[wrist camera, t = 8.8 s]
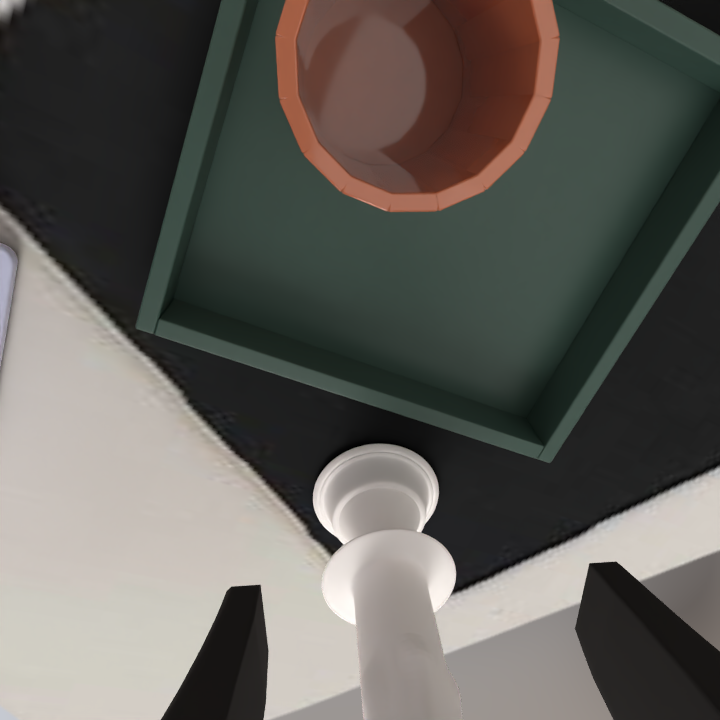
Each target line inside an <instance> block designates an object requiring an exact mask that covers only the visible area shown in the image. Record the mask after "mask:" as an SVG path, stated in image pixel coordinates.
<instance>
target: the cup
mask: <svg viewBox="0 0 720 720" xmlns="http://www.w3.org/2000/svg"><path fill="white" fill-rule="evenodd" d="M559 41H560V38H559V29H558V25H557V20H556V15H555V11H554V6H553V2H552V0H285V3H284V6H283V10H282V13H281V16H280V19H279V23H278V26H277V29H276V36H275V48H276V65H277V82H278V97H279V99H280V104H281V106H282V109H283V111H284V113H285V115H286V118H287V120H288V122H289V125H290V127H291V129H292V132H293V134H294V136H295V138H296V141H297V143H298V145H299V148H300V150H301V152H302V153H304V156H305V157H306V158H307V159H308V160H309V161H310V162H311V163H312V164H313V165H314V166H315V167H316V168H317V169H318V170H319V171H320V172H321V173H322V174H323V175H324V176H325V177H326V178H327V179H328V180H329V181H330V182H331V184H332V185H333V186H334V187H335V188H336V189H337V190H338V191H340V192H342V193H343V194H345V195H347V196H350V197H352V198H354V199H357V200H359V201H362V202H364V203H367V204H369V205H371V206H374V207H376V208H379V209H381V210H383V211H386V212H387V211H389V212H436V211H441V210H443V209H445V208H448V207H450V206H452V205H455V204H457V203H459V202H462V201H464V200H466V199H469V198H471V197H473V196H475V195H478V194H480V193H482V192H484V191H485V190H487V189H488V188H489V187H490V186H492V185H493V184H494V183H495V182H496V181H497V180H498V179H499V178H500V177H501V176H502V175H503V174H504V173H505V172H506V171H507V170H508V169H509V168H510V167H511V166H512V165H513V164H514V163H515V162H516V161H517V160H518V159H519V158H520V157H521V156H522V155H523V154H524V153H525V152H524V151H526V150H527V148H528V146H529V144H530V142H531V140H532V138H533V136H534V134H535V132H536V130H537V128H538V126H539V124H540V122H541V120H542V118H543V116H544V114H545V112H546V110H547V108H548V106H549V104H550V102H551V98H552V95H553V87H554V79H555V72H556V64H557V57H558V49H559Z"/></svg>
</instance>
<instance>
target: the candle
mask: <svg viewBox="0 0 720 720" xmlns="http://www.w3.org/2000/svg"><path fill="white" fill-rule="evenodd" d="M438 496H439V486H438V481H437V478H436V475H435V473H434V471H433V469H432V468H431V466H430V465H429V464H428V463H427V462H426V461H425V460H424V459H423V458H422V457H421V456H420V455H418V454H417V453H415V452H413V451H411V450H409V449H407V448H404V447H401V446H398V445H393V444H383V443H377V444H367V445H362V446H359V447H355V448H353V449H350V450H348V451H346V452H344V453H342V454H340V455H339V456H337V457H336V458H335V459H333V460H332V461H331V462H330V463H329V464H328V465H327V466H326V467H325V468H324V469H323V471H322V472H321V474H320V475H319V477H318V479H317V481H316V484H315V487H314V491H313V505H314V509H315V512H316V515H317V517H318V519H319V521H320V522H321V523H322V525H323V526H324V527H325V528H326V529H327V530H328V531H329V532H330V533H332V534H333V535H334V536H336V537H338V539H339V540H340V541H341V542H342V543H343V544H344V545H343V546H342V547H341V548H339V549H338V550H337V551H336V552H335V553H334V555H333V556H332V557H331V558H330V560H329V561H328V563H327V565H326V567H325V569H324V572H323V576H322V592H323V596H324V599H325V601H326V603H327V604H328V606H329V607H330V608H331V610H332V611H333V612H334V613H335V614H336V615H338V616H339V617H340V618H342V619H343V620H345V621H347V622H349V623H351V624H354V625H356V632H357V645H358V657H359V670H360V683H361V695H362V708H363V720H463V716H462V706H461V695H460V691H459V687H458V685H457V683H456V681H455V679H454V678H453V676H452V675H451V673H450V671H449V669H448V667H447V664H446V661H445V658H444V654H443V649H442V645H441V641H440V637H439V632H438V628H437V624H436V619H435V615H434V613H435V612H436V611H437V610H438V609H439V608H440V607H441V606H442V605H443V604H444V603H445V602H446V601H447V599H448V598H449V596H450V594H451V592H452V590H453V588H454V585H455V580H456V569H455V564H454V561H453V559H452V557H451V555H450V553H449V552H448V551H447V549H446V548H445V547H444V546H443V545H442V544H441V543H439V542H438V541H437V540H435V539H434V538H432V537H430V536H428V535H426V534H423V533H421V531H422V530H423V527H424V525H425V523H426V522H427V521H428V520H429V518H430V517H431V515H432V514H433V512H434V510H435V508H436V505H437V501H438Z"/></svg>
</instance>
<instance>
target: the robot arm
mask: <svg viewBox="0 0 720 720" xmlns="http://www.w3.org/2000/svg"><path fill="white" fill-rule="evenodd" d="M17 266H18V258H17V256H16V254H15V252H14V251H13V250H12V249H11V248H10V247H9V246H7V245H5V244H3V243H0V368H1V362H2V356H3V350H4V344H5V338H6V332H7V326H8V320H9V314H10V308H11V302H12V296H13V290H14V284H15V278H16V272H17ZM575 630H576V632H577V635H578V638H579V641H580V644H581V646H582V650H583V652H584V655H585V657H586V661H587V663H588V666H589V668H590V671H591V674H592V676H593V679H594V681H595V683H596V685H597V687H598V689H599V691H600V693H601V695H602V697H603V699H604V701H605V703H606V705H607V707H608V709H609V711H610V713H611V715H612V717H613V719H614V720H720V651H718V650H717V649H716V648H715V647H714V646H712V645H711V644H710V643H709V642H708V641H706V640H705V639H704V638H703V637H702V636H701V635H699V634H698V633H697V632H696V631H695V630H693V629H692V628H691V627H690V626H689V625H688V624H686V623H685V622H684V621H683V620H682V619H681V618H680V617H678V616H677V615H676V614H675V613H674V612H673V611H672V610H670V609H669V608H668V607H667V606H666V605H665V604H664V603H663V602H661V601H660V600H659V599H658V598H656V596H655V595H653V594H652V593H651V592H650V591H649V590H648V589H647V588H646V587H645V586H643V585H642V584H641V583H640V582H639V581H638V580H637V579H636V578H634V577H633V576H632V575H631V574H630V573H629V572H628V571H627V570H625V569H624V568H623V567H622V566H621V565H620V564H618V563H617V562H604V563H590V564H589V568H588V573H587V577H586V582H585V586H584V591H583V595H582V600H581V604H580V609H579V614H578V618H577V623H576V627H575ZM267 669H268V644H267V635H266V627H265V619H264V610H263V602H262V594H261V585H251V586H235V587H231V588H230V589H229V590H227V592H226V594H225V597H224V600H223V602H222V605H221V607H220V609H219V612H218V614H217V616H216V618H215V621H214V623H213V625H212V627H211V629H210V631H209V633H208V635H207V637H206V639H205V642H204V644H203V646H202V648H201V650H200V652H199V653H198V655H197V657H196V659H195V661H194V663H193V665H192V666H191V668H190V670H189V672H188V674H187V676H186V678H185V680H184V681H183V683H182V685H181V687H180V689H179V690H178V692H177V694H176V696H175V697H174V699H173V701H172V702H171V704H170V706H169V707H168V709H167V711H166V712H165V714H164V716H163V717H162V719H161V720H263V718H264V711H265V704H266V688H267Z"/></svg>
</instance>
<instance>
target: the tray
mask: <svg viewBox="0 0 720 720" xmlns="http://www.w3.org/2000/svg"><path fill="white" fill-rule="evenodd" d="M552 2H553V6H554V11H555V15H556V20H557V25H558V29H559V38H560V41H559V49H558V57H557V64H556V72H555V79H554V87H553V95H552V98H551V102H550V104H549V106H548V108H547V110H546V112H545V114H544V116H543V118H542V120H541V122H540V124H539V126H538V128H537V130H536V132H535V134H534V136H533V138H532V140H531V142H530V144H529V146H528V148H527V150H526V151H524V152H525V153H524V154H523V155H522V156H521V157H520V158H519V159H518V160H517V161H516V162H515V163H514V164H513V165H512V166H511V167H510V168H509V169H508V170H507V171H506V172H505V173H504V174H503V175H502V176H501V177H500V178H499V179H498V180H497V181H496V182H495V183H494V184H493V185H492V186H490V187H489V188H488V189H487V190H485V191H484V192H482V193H480V194H478V195H475V196H473V197H471V198H469V199H466V200H464V201H462V202H459V203H457V204H455V205H452V206H450V207H448V208H445V209H443V210H441V211H436V212H389V211H387V212H386V211H383V210H381V209H379V208H376V207H374V206H371V205H369V204H367V203H364V202H362V201H359V200H357V199H354V198H352V197H350V196H347V195H345V194H343V193H342V192H340V191H338V190H337V189H336V188H335V187H334V186H333V185H332V184H331V182H330V181H329V180H328V179H327V178H326V177H325V176H324V175H323V174H322V173H321V172H320V171H319V170H318V169H317V168H316V167H315V166H314V165H313V164H312V163H311V162H310V161H309V160H308V159H307V158H306V157H305V156H304V153H302V152H301V150H300V148H299V145H298V143H297V141H296V138H295V136H294V134H293V132H292V129H291V127H290V125H289V122H288V120H287V118H286V115H285V113H284V111H283V109H282V106H281V104H280V99H279V97H278V82H277V65H276V48H275V36H276V29H277V26H278V23H279V19H280V16H281V13H282V10H283V6H284V3H285V0H221V4H220V8H219V11H218V15H217V19H216V23H215V26H214V30H213V34H212V38H211V42H210V45H209V49H208V53H207V57H206V61H205V64H204V68H203V72H202V76H201V80H200V83H199V87H198V91H197V95H196V98H195V102H194V106H193V110H192V114H191V117H190V121H189V125H188V129H187V133H186V136H185V140H184V144H183V148H182V152H181V155H180V159H179V163H178V167H177V170H176V174H175V178H174V182H173V186H172V189H171V193H170V197H169V201H168V205H167V208H166V212H165V216H164V220H163V224H162V227H161V231H160V235H159V239H158V242H157V246H156V250H155V254H154V258H153V261H152V265H151V269H150V273H149V277H148V280H147V284H146V288H145V292H144V296H143V299H142V303H141V307H140V311H139V315H138V318H137V322H136V328H137V329H139V330H142V331H145V332H148V333H151V334H154V333H155V335H157V336H160V337H163V338H166V339H169V340H172V341H175V342H178V343H181V344H184V345H187V346H191V347H194V348H197V349H200V350H203V351H206V352H209V353H212V354H215V355H218V356H221V357H224V358H228V359H231V360H234V361H237V362H240V363H243V364H246V365H249V366H252V367H255V368H258V369H261V370H264V371H268V372H271V373H274V374H277V375H280V376H283V377H286V378H289V379H292V380H295V381H298V382H301V383H304V384H308V385H311V386H314V387H317V388H320V389H323V390H326V391H329V392H332V393H335V394H338V395H341V396H345V397H348V398H351V399H354V400H357V401H360V402H363V403H366V404H369V405H372V406H375V407H378V408H381V409H385V410H388V411H391V412H394V413H397V414H400V415H403V416H406V417H409V418H412V419H415V420H418V421H421V422H425V423H428V424H431V425H434V426H437V427H440V428H443V429H446V430H449V431H452V432H455V433H458V434H462V435H465V436H468V437H471V438H474V439H477V440H480V441H483V442H486V443H489V444H492V445H495V446H498V447H502V448H505V449H508V450H511V451H514V452H517V453H520V454H523V455H526V456H529V457H532V458H535V459H539V460H542V461H545V462H548V463H550V462H551V461H552V460H553V458H554V457H555V455H556V454H557V452H558V451H559V449H560V447H561V446H562V444H563V443H564V441H565V440H566V438H567V437H568V435H569V434H570V432H571V430H572V429H573V427H574V426H575V424H576V423H577V421H578V420H579V418H580V417H581V415H582V413H583V412H584V410H585V409H586V407H587V406H588V404H589V403H590V401H591V400H592V398H593V396H594V395H595V393H596V392H597V390H598V389H599V387H600V386H601V384H602V383H603V381H604V379H605V378H606V376H607V375H608V373H609V372H610V370H611V369H612V367H613V366H614V364H615V362H616V361H617V359H618V358H619V356H620V355H621V353H622V352H623V350H624V349H625V347H626V345H627V344H628V342H629V341H630V339H631V338H632V336H633V335H634V333H635V332H636V330H637V328H638V327H639V325H640V324H641V322H642V321H643V319H644V318H645V316H646V315H647V313H648V311H649V310H650V308H651V307H652V305H653V304H654V302H655V301H656V299H657V298H658V296H659V294H660V293H661V291H662V290H663V288H664V287H665V285H666V284H667V282H668V281H669V279H670V277H671V276H672V274H673V273H674V271H675V270H676V268H677V267H678V265H679V264H680V262H681V260H682V259H683V257H684V256H685V254H686V253H687V251H688V250H689V248H690V247H691V245H692V243H693V242H694V240H695V239H696V237H697V236H698V234H699V233H700V231H701V230H702V228H703V226H704V225H705V223H706V222H707V220H708V219H709V217H710V216H711V214H712V213H713V211H714V209H715V208H716V206H717V205H718V203H719V202H720V35H718V34H716V33H714V32H713V31H711V30H709V29H707V28H706V27H704V26H702V25H700V24H699V23H697V22H695V21H693V20H692V19H690V18H688V17H687V16H685V15H683V14H681V13H680V12H678V11H676V10H674V9H673V8H671V7H669V6H667V5H666V4H664V3H662V2H660V1H659V0H552Z"/></svg>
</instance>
